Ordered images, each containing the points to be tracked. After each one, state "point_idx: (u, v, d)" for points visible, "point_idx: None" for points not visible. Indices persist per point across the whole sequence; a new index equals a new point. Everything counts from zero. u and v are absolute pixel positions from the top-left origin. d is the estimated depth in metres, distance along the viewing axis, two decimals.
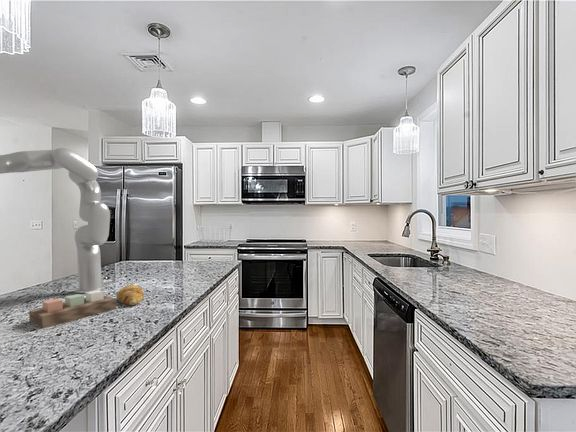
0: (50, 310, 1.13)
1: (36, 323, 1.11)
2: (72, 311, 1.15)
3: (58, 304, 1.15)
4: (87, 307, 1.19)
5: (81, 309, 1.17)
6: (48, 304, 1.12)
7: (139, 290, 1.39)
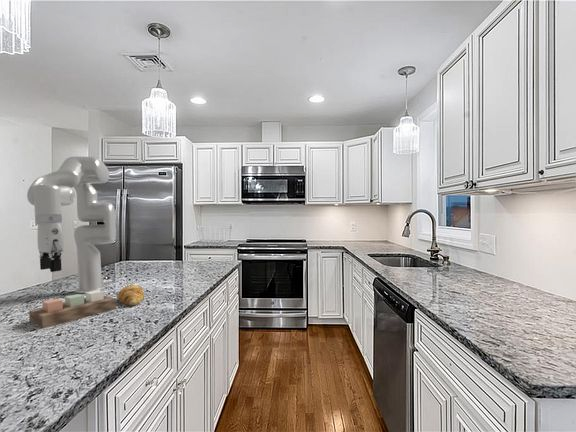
0: (50, 310, 1.13)
1: (36, 323, 1.11)
2: (72, 311, 1.15)
3: (58, 304, 1.15)
4: (87, 307, 1.19)
5: (81, 309, 1.17)
6: (48, 304, 1.12)
7: (139, 290, 1.39)
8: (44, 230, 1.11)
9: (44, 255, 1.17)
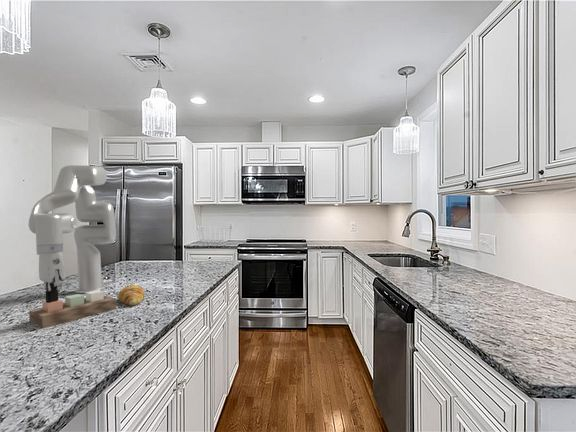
0: (50, 310, 1.13)
1: (36, 323, 1.11)
2: (72, 311, 1.15)
3: (58, 305, 1.15)
4: (87, 307, 1.19)
5: (81, 309, 1.17)
6: (48, 304, 1.12)
7: (140, 290, 1.39)
8: (45, 260, 1.11)
9: None
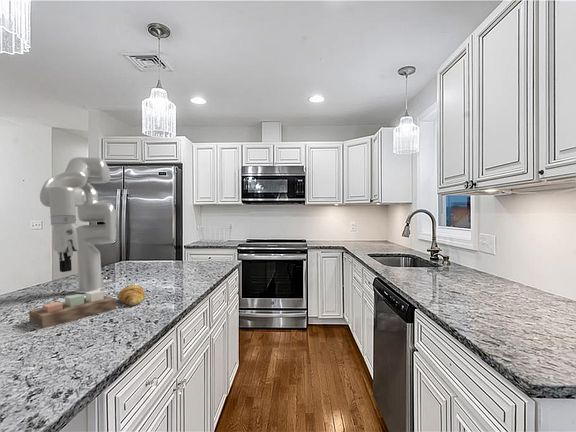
0: None
1: (36, 323, 1.11)
2: (72, 311, 1.15)
3: (58, 308, 1.15)
4: (87, 307, 1.19)
5: (81, 309, 1.17)
6: (48, 308, 1.12)
7: (140, 290, 1.39)
8: (59, 230, 1.15)
9: None
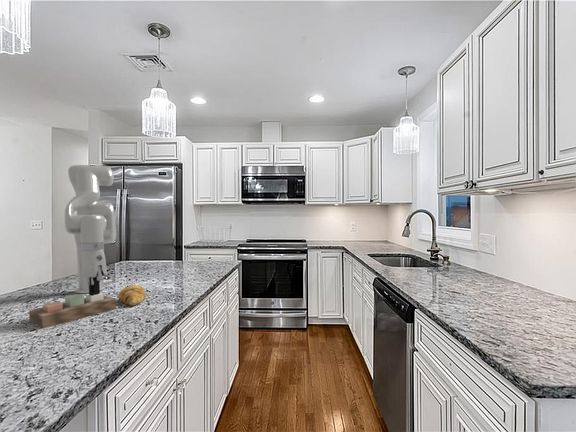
0: None
1: (36, 323, 1.11)
2: (72, 311, 1.15)
3: (58, 308, 1.15)
4: (87, 307, 1.19)
5: (81, 309, 1.17)
6: (48, 308, 1.12)
7: (140, 290, 1.38)
8: (90, 257, 1.23)
9: None
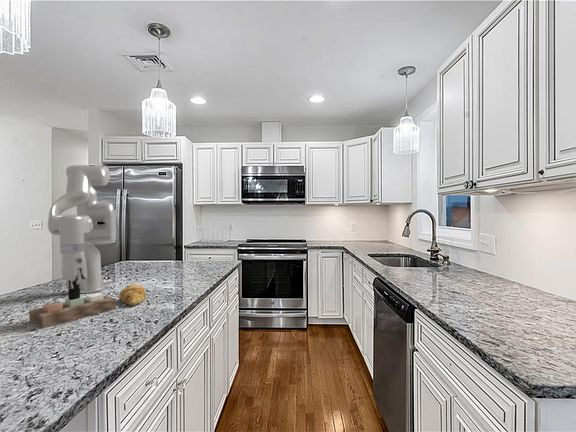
0: None
1: (36, 323, 1.11)
2: (72, 311, 1.15)
3: (58, 308, 1.15)
4: (87, 307, 1.19)
5: (81, 309, 1.17)
6: (48, 308, 1.12)
7: (141, 290, 1.38)
8: (69, 259, 1.17)
9: None
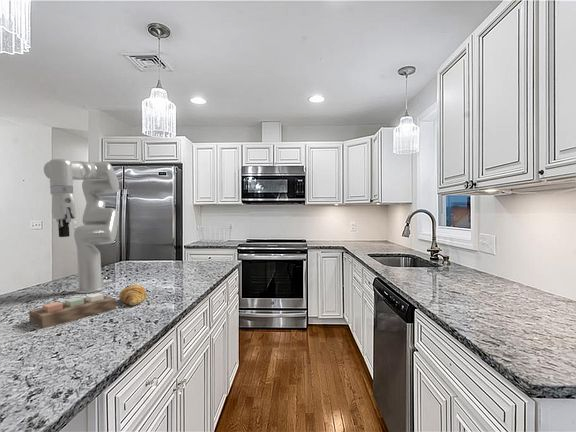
0: None
1: (36, 323, 1.11)
2: (72, 311, 1.15)
3: (58, 308, 1.15)
4: (87, 307, 1.19)
5: (81, 309, 1.17)
6: (48, 308, 1.12)
7: (141, 290, 1.38)
8: (58, 199, 1.27)
9: None
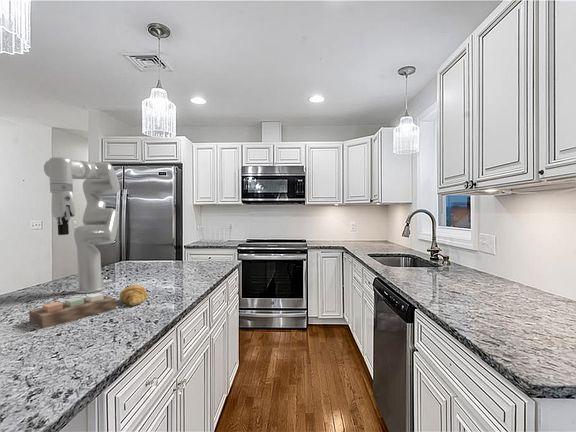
0: None
1: (36, 323, 1.11)
2: (72, 311, 1.15)
3: (58, 308, 1.15)
4: (87, 307, 1.19)
5: (81, 309, 1.17)
6: (48, 308, 1.12)
7: (142, 290, 1.38)
8: (58, 197, 1.27)
9: None
